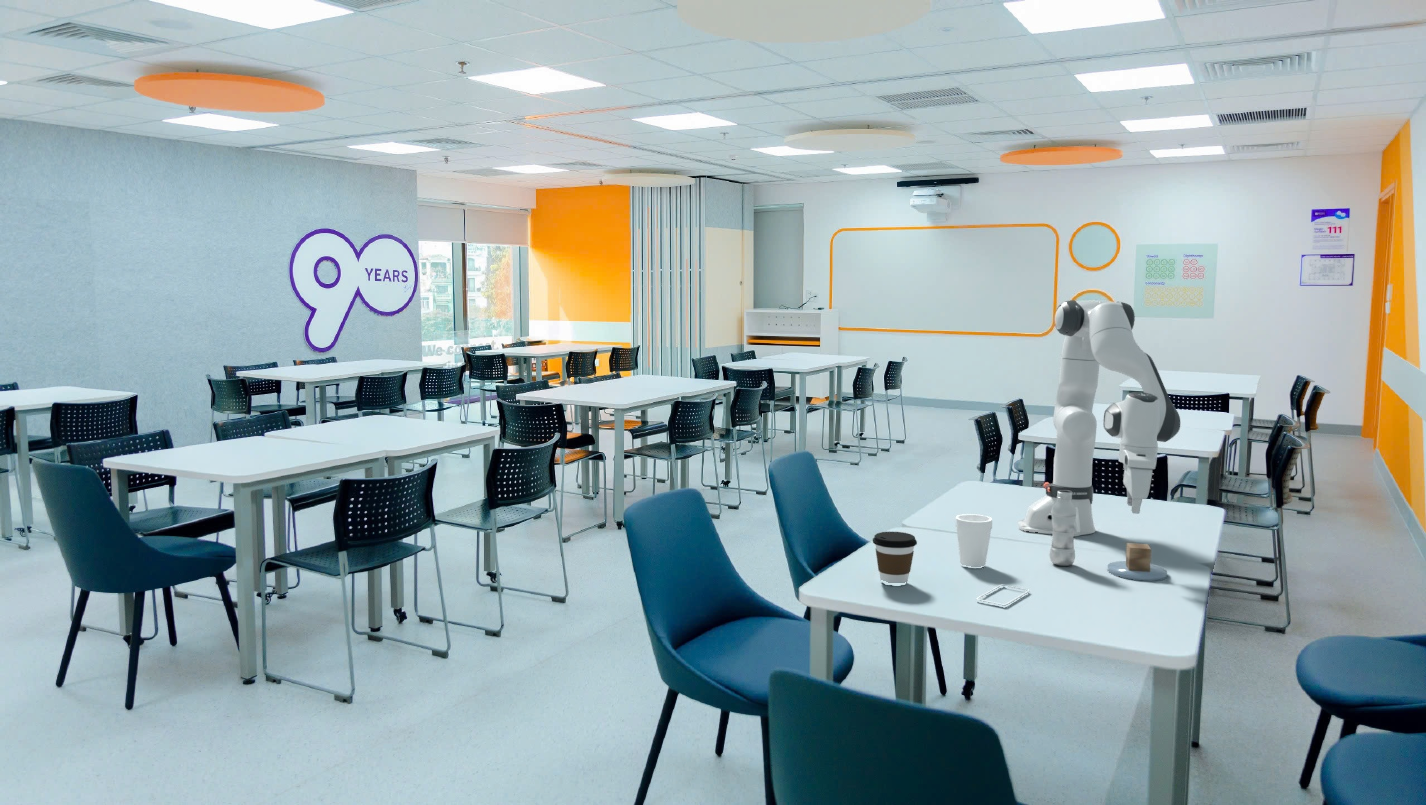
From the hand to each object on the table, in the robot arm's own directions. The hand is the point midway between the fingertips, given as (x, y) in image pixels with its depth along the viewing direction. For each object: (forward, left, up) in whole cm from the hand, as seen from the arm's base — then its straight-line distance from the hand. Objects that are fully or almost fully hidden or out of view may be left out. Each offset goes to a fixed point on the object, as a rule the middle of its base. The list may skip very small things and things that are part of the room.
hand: (1133, 509), depth 239 cm
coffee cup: (-58, -25, -17) cm, 66 cm away
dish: (+2, 0, -17) cm, 17 cm away
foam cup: (-39, -4, -17) cm, 43 cm away
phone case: (-32, -30, -18) cm, 47 cm away
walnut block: (+2, 0, -16) cm, 16 cm away
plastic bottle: (-16, +3, -17) cm, 24 cm away
